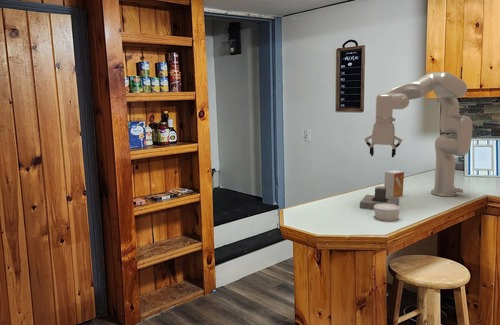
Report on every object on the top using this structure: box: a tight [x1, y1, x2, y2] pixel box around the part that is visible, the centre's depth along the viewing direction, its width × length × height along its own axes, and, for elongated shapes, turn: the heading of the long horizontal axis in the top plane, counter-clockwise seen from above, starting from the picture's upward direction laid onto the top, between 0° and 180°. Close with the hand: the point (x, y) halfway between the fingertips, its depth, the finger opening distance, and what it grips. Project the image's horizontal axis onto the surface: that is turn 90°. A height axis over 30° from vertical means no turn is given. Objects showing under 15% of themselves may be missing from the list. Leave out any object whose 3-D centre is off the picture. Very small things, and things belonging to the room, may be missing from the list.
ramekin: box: [373, 204, 401, 222], centre depth 193 cm, size 11×11×5 cm
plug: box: [374, 185, 387, 202], centre depth 213 cm, size 5×5×9 cm
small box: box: [383, 169, 405, 198], centre depth 232 cm, size 8×6×13 cm
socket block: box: [359, 194, 400, 211], centre depth 212 cm, size 16×16×3 cm
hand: (382, 156), depth 209 cm, fingers open, 9 cm apart
